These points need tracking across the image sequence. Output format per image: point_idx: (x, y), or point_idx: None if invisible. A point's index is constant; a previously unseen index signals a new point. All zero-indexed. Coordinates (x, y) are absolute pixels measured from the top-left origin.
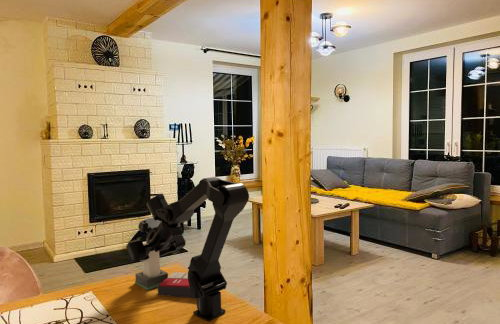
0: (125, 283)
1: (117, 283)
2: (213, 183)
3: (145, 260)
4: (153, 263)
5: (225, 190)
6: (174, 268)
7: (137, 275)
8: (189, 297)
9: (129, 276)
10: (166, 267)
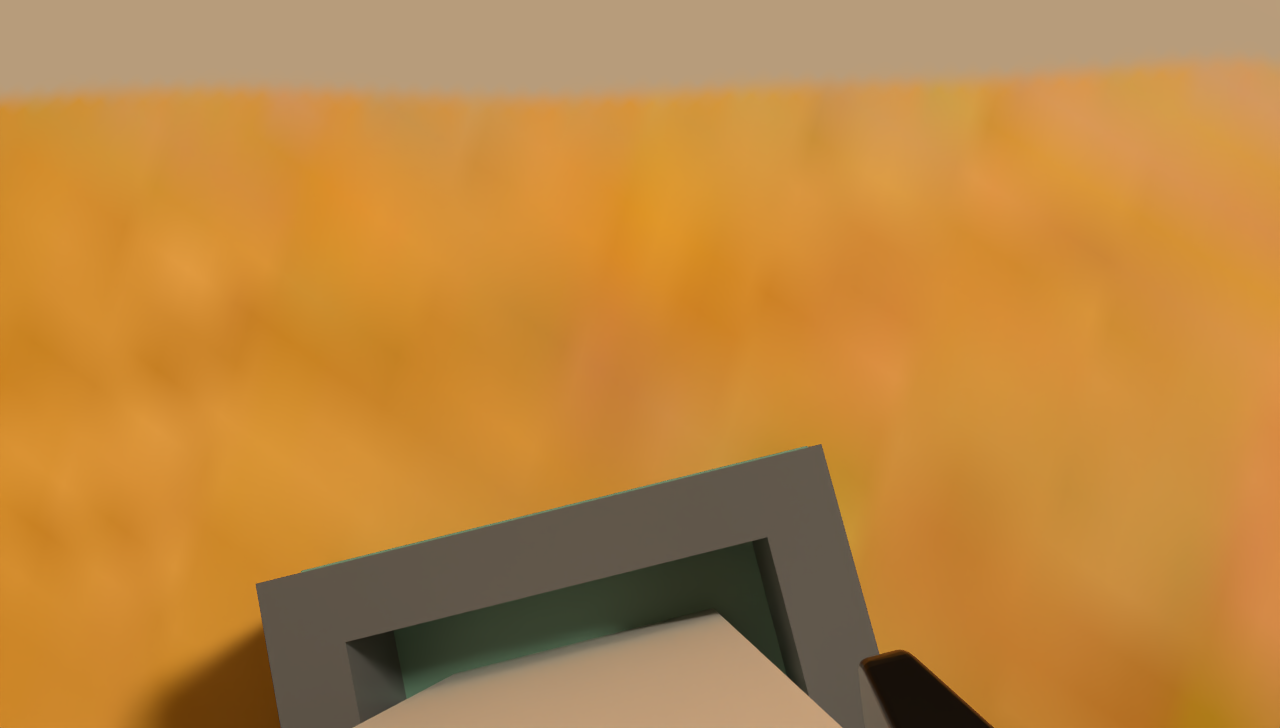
0: (163, 458)
1: (38, 367)
2: None
3: None
4: None
5: None
6: (1265, 251)
7: (279, 695)
8: None
9: (335, 152)
10: (1123, 103)
